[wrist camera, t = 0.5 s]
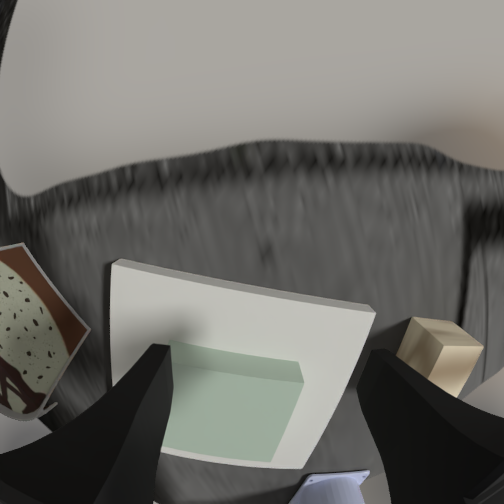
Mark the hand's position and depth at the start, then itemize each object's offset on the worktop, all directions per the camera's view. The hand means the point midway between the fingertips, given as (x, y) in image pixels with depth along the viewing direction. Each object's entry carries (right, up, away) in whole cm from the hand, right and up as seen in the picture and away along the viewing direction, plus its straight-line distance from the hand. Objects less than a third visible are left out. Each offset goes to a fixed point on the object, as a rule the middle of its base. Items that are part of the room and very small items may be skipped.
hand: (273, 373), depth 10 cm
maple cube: (+14, -4, +12) cm, 19 cm away
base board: (-3, -7, +12) cm, 14 cm away
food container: (-19, 0, +10) cm, 22 cm away
